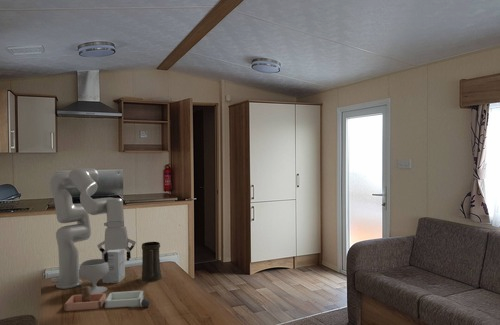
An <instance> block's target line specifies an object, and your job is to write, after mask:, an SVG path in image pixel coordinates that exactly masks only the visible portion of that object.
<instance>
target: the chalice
mask: <svg viewBox="0 0 500 325" xmlns="http://www.w3.org/2000/svg"><path fill="white" fill-rule="evenodd" d="M108 272H109V266H108V263H105V261H104V259H102V258H93V259H88V260H85V261H83V262H81V264H80V265H79V277H80V278H81V279H82V280H86V281H89V282H90V283H91V284H92V286H90V294H97V293H105V292H106V291H107V290H108V287H106V286H103V285H102V286H101V285H99V286H97V283H98V282H99V281H100V280H101V279H103V277H104V276H106V275H107V273H108Z"/></svg>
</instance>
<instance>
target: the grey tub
mask: <svg viewBox="0 0 500 325" xmlns="http://www.w3.org/2000/svg"><path fill="white" fill-rule="evenodd" d="M106 298H107V299H106V300H105V302H104V308H105V309H111V308H120V307H121V308H125V307H129V308H139V307H141V306H142V304H141V302H142V300H143V299H145V298H144V290H130V291H115V292H114V291H112V292H109V294H108V296H106Z"/></svg>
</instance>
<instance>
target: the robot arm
mask: <svg viewBox="0 0 500 325" xmlns="http://www.w3.org/2000/svg"><path fill="white" fill-rule="evenodd" d="M99 178H100V175H99V172H98V170H96V169H95V168H94V167H77V168H76V167H75V168H73V169H72V170H70V171H64V172H63V171H62V172H56V173H54V174H52V175H51V177H50V179H49V188H50V192H51V194H52V196H53V200H54V207H55V208H54V209H55V214H56V219H57V221H58V223H60V224H67V225H64V226H61V227H59V228H58V229H57V230H56V232H55V240H56V242H57V249H58V251H57V252H58V272H59V274H58V275H59V276H58V277H52V278H51V279H50V281H51V283H56V284H55V285H56V288H57V289H60V290H61V289H62V290H64V289H65V290H66V289H73V288H77V287H79V286H81V285H82V284H83V279H80V275H79V269H80V265H79V264H80V263H79V261H80V258H79V250H78V249H79V248H77V246H76V244H75V243H78V242H83V241H87V240H88V239H90V238H91V234H92V229H91V228H92V227H91V221H90V216H91V215H92V216H97V215H103V214H104V215H105V214H106V222H104V223H103V226H104V227H106V228H105V231H104V240H103V241H101V242H100V243H98V244H97V248H98V249H99V251H100V252H101V254H102V253H103V254H104V261H105V263H107V262H108V253H107V251H108V250H117V249H124V250H125V251H126V261H127V262H128V261H130V259H131V257H132V256H131V252H132V250H133V249H134V247H135V246H136V243H137V242H136V241H135V240H133V239H130V238H129V237H128V230H127V227H126V226H125V216H124V200H123V199H122V198H120V197H110V196H109V197H101V198H100V197H99V198H93V197H91V196H93V195H95V193H96V192H97V190H98V188H99V186H98V183H97V182H98V181H99ZM70 188H71V189H72V188H76V190H78V191H79V192H80V196H79V200H80V201H79V202H80V203H73V197H72V195H71V193H70V192H69V191H68V190H67V189H70ZM69 223H75V224H69ZM68 224H69V225H68ZM129 243H130V244H131V246H129ZM103 245H104V248H103Z"/></svg>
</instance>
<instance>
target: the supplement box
mask: <svg viewBox="0 0 500 325" xmlns="http://www.w3.org/2000/svg"><path fill="white" fill-rule="evenodd" d="M107 253H108V262H107V263H108V266H109V272H108V273H107V275H106V276H104V277H103V278H102V283H104V284H105V283H109V284H110V283H111V284H113V283H115V284H118V283H120V282H122V281H123V279H125V278H126V270H125V269H126V267H125V264H126V263H125V249H117V250H108V251H107ZM101 259H104V254H103V253H102V252H101Z"/></svg>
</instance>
